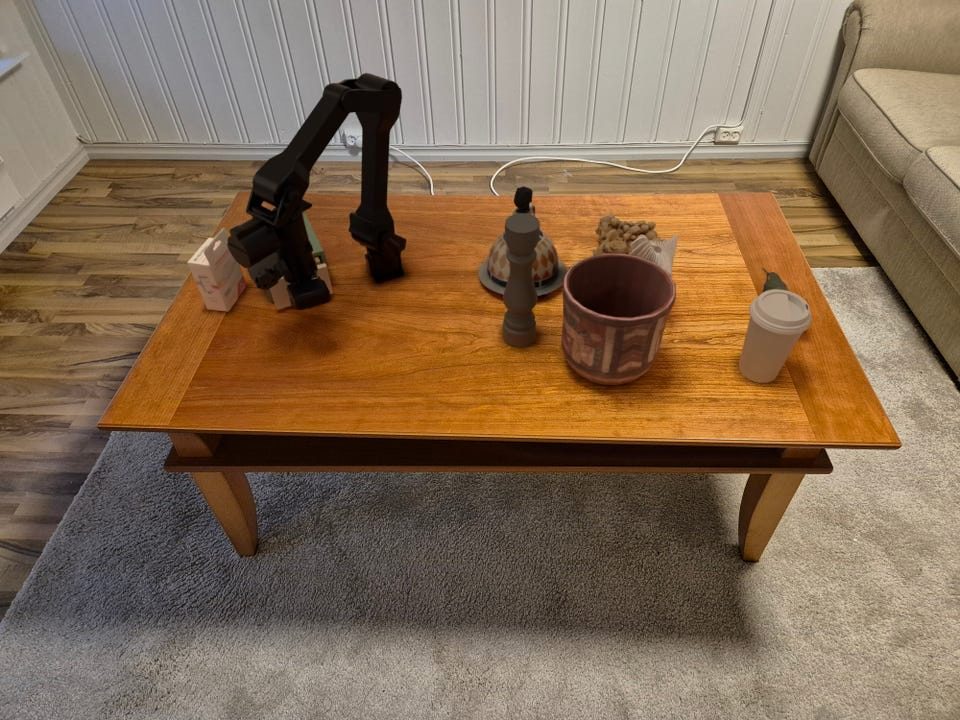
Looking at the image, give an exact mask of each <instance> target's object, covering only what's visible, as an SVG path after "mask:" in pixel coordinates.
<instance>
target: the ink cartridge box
mask: <svg viewBox="0 0 960 720" xmlns="http://www.w3.org/2000/svg"><path fill="white" fill-rule="evenodd" d="M228 237H230V236H229V234H228V232H227V230H226V228H225V227H222V228H221V229H220V230H219V232H218V233H217V234H216V235H215V237H208V238H207V239H206V240H205V241H204V242H203V244H201V246H200V247H199V248H198V249H197V251H196V252H195V253H194V254H193V255H192V256H191V257H190V259H189V260H188V261H187V262H186V263H187V265H188V268H189V270H190V272H191V274H192V277H193V279H194V282H195V284H196V286H197V289H198V291H199V292H200V295H201V298H202V300H203V302H204V304H205V307H206V309H207V310H208V311H209V310H210V311H219V312H230V311H231V309H232V308H233V306H234V305H235V304H236V302H237V301H238V299H239V298H240V297H241V295H242V294H243V292H245V290H246V288H247V286H248V285H247V281H246V280H245V279H246V278H245V276H244V273H243V271H242V268H241V267H242V266H241V265H240V264H239V263H238V262H237V261H236V260H235V259H234V257H233V256H232V255H231V253H230V251H229V249H228V246H227V244H228V241H227V240H228Z"/></svg>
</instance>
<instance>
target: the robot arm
mask: <svg viewBox="0 0 960 720" xmlns="http://www.w3.org/2000/svg"><path fill="white" fill-rule="evenodd" d="M402 102H403V91H402V88H401V87H400V86H399V84H398V82H396V81H394V80H392V79H388V78H386V77H385V78H384V77H381V76H379V75H375V74H372V73H370V72H369V73H368V72H364V73H362V74H361V75H360V76H358V77H357V78H345V79H343V80H341V81H339V82H333V83H332V82H331V83H328V84H327V85H325V87H324V88H323V91H322V96H321V97H320V99H319V100H318V102H317V103H316V105H314V108H312V110H311V112H310V113H309V114H308V116H307V117H306V118H305V121H304V122H303V123H302V125H301V126H300V128H299V129H298V130H297V131H296V133H295V135H294V136H293V138H292V139H291V140H290V142H289V143H288V144H287V146H286V148H284V149H283V150H282V151H281V152H279V153H278V154H276V155H274V156H272V157H270V158H268V160H267V161H265V162H264V164H263V165H262V166H260V168H259V169H258V170H257V171H256V172H255V174H254V176H253V178H252V181H251V184H252V187H251V191H250V194H249V198H248V202H247V205H246V209H245V213H246V214H248V216H249V215H250V216H251V219H250V218H249V220H247V221H245V222H243V223H242V224H239V225H237V226H234V227H232V228H230V229H229V231H228V232H229V234H230V236H229V237H228V240H227V241H228V244H227V246H228V249H229V251H230V253H231V255H232V256H233V257H234V259H235V260H236V261H237V262H238V263H239V265H240V267H242V268H244V269H247V272H248V276H249V277H250V279H251V280H252V281H253V282H254V283H255V285H256V288H257V289H260V290H262V291H266V290H268V289H270V288H272V287H273V286H275V285H276V284H278V280H279V279H281V278H282V277H284V280H285V281H286V282H288V283H290V284H289V285H287V287H288V289H289V292H290V293H291V297H292V299H293V302H294V305H293V306H294V307H295V309H296V311H301V312H302V311H305V310H307V309H308V310H309V309H312V308H315V307H318V306H322V305H325V304H327V303H330V302H331V301H332V296H331V295H332V294H330V291H329V289H328V287H327V285H326V283H325V281H324V280H322V279H320V276H317V270H318V268H317V264H316V262H315V260H314V258H313V254H312V251H313V247H312V245H311V243H310V241H309V238H308V234H307V230H306V226H305V222H304V218H303V215H304V214H303V213H305V212H306V211H308V210H309V209H311V208H313V204H312V202H310V201H308V200H305V199H303V198H304V197H305V194H306V192H307V191H308V189H309V187H310V181H311V180H310V178H311V171H312V170H313V167H314V165H316V163H317V161H319V158H320V157H321V155H322V154H323V153H324V151H325V149H326V148H327V147H328V145H329V144H330V143H331V141H332V139H333V138H334V137H335V135H336V133H337V132H338V131H339V129H340V128H341V126H342V125H343V123H344V122H345V121H346V119H347V117H348V116H349V115H350V114H352V113H355V115H356V119H357V120H358V122H359V124H360V126H361V169H360V170H361V171H360V173H361V177H360V204H359V205H358V207H357V208H356V210H355V211H353V212H350V213H349V215H348V218H349V226H348V227H349V228H348V232H349V233H350V236H351V239H352V240H354V242H356V243H358V244H359V245H360V246H361V247H365V251H366V253H365V254H364V259H365V264H366V271H367V273H368V274H369V276H370V277H371V278H373V280H374V282H375V283H376V284H381V283H384V282H387V281H390V280H391V281H392V280H394V279H398V278H401V277H405V276H406V271H405V270H404V268H403V263H402V252H403V251H404V250H406V246H407V238H404V237H403V236H400V235H398V234H396V231H395V230H396V229H395V220H394V218H393V216H392V214H391V211H390V209H389V207H388V189H389V187H388V185H389V166H390V165H389V163H390V162H389V161H390V143H391V142H390V140H391V138H390V137H391V130H392V129H393V127H394V126H395V124H396V122H397V121H398V119H399V117H400V113H401V107H402ZM263 203H266V204H268V205H269V206H272V207H273V208H272V210H271V209H270V208H267V207H265V206H264V205H263Z"/></svg>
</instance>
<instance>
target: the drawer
mask: <svg viewBox="0 0 960 720" xmlns="http://www.w3.org/2000/svg"><path fill="white" fill-rule="evenodd" d="M313 258H314V260H315V262H316V264H317V268H318V270H317V276H320V279H322V280H324V281H325V283H326V285H327V287H328V289H329V291H330V295H333V294H334V291H333V287H332V281H331V277H330V278H329V276H330V273H328V272H329V269H327V268H328V265H327V266H326V264H325V263H324V264H321V262H320V260H319V258H318V256H315V257H313ZM330 281H331V282H330ZM289 284H290V283H288V282H286V281H285V280H284V277H282V278H281V279H279V280H278V284H276V285H275V286H273V287H272V288H270V290H271V294H272V297H273V300H274V301H273V303H274V306H275V309H276V310H280V309H284V308H287V307H291V306H295V305H294V302H293V299H292V297H291V293H290V292H289V289H288V287H287V285H289Z"/></svg>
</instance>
